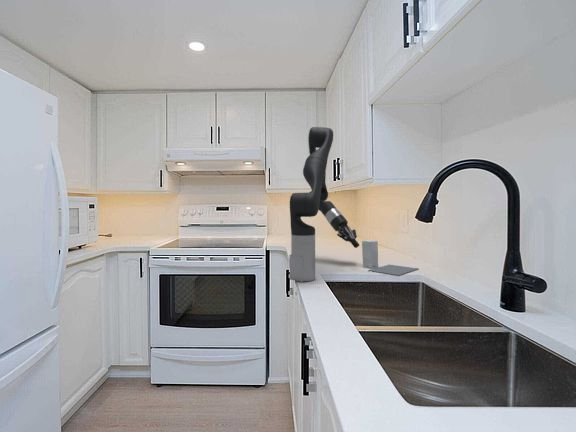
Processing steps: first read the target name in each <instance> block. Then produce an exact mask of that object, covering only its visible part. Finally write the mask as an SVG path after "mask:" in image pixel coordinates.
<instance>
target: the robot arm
mask: <svg viewBox="0 0 576 432" xmlns="http://www.w3.org/2000/svg"><path fill="white" fill-rule="evenodd" d="M307 138H308V142H307V143H308V151H309V152H308V153H309V156H307V158H306V159H305V162H304V165H303V169H302V174H303V178H304V180H305V181H306V183H307V184H308V185H309V187H310V188H311V191H308V192H294V193H292V194H291V195H290V198H289V215H290V217H289V219H290V233H291V234H290V235H291V236H290V237H291V238H290V239H291V241H290V246H291V247H290V248H291V249H290V250H291V253H290V255H289V280H290V281H295V282H300V283H303V282H311V281H315V280H316V229H315V226H312V225H310V224H307V222H305V221H303V220H302V217H303V218H312V217H316V216H317V214H318V213H319V211H320V212H321V214H322V215H323V216H324V217H325V219H326V222H328V224H329V225H330V226H331V228H332V229H333V230H334V231H335V232H338V233H336V236H338V237H339V238H341V239H342V240H343V241H345V242H348V243H351V245H352V247H353V248H354V249H356V248H359V247H360V243H359V242H358V240H356V239H357V237H358V236H357V231H356V229H351V227H350V226H349V225H348V223H349V222H348V220H347V219H346V218H345V216H344V215H343V214H342V213H341V211H340V210H338V208H337V207H336V206H335V204H333V203H332V201H331V200H328V198H329V192H328V189H327V188H328V187H327V184H326V178H327V177H326V172H327V166H328V165H327V164H328V159H329V155H330V153H331V152H330V151H331V149H332V145H333V142H334V131H333V129H332V128H330V127H323V126H322V127H321V126H320V127H319V126H312V127H310V129H309V131H308V137H307Z"/></svg>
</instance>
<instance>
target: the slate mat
mask: <svg viewBox="0 0 576 432" xmlns="http://www.w3.org/2000/svg"><path fill="white" fill-rule="evenodd" d="M418 270H419V267H410V266H403V265H397V264H396V265H395V264H386V265H382V266H378V268H374V269H372V268H370V269H368V270H367V271H368V272H370V271H372V273H377V272H378V273H379V274H383V275H384V274H385V275H390V276H397V277H400V276H404V275H406V274H408V273H412V272H415V271H418Z"/></svg>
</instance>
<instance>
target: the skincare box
mask: <svg viewBox="0 0 576 432" xmlns="http://www.w3.org/2000/svg"><path fill="white" fill-rule="evenodd" d="M378 243H379V241H377V240H369V239H366V240H365V239H364V240H362V241H361V248H362V253H361V254H362V267H363V268H368V269H375V268H378V267H379V248H378V247H379V246H378Z"/></svg>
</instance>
